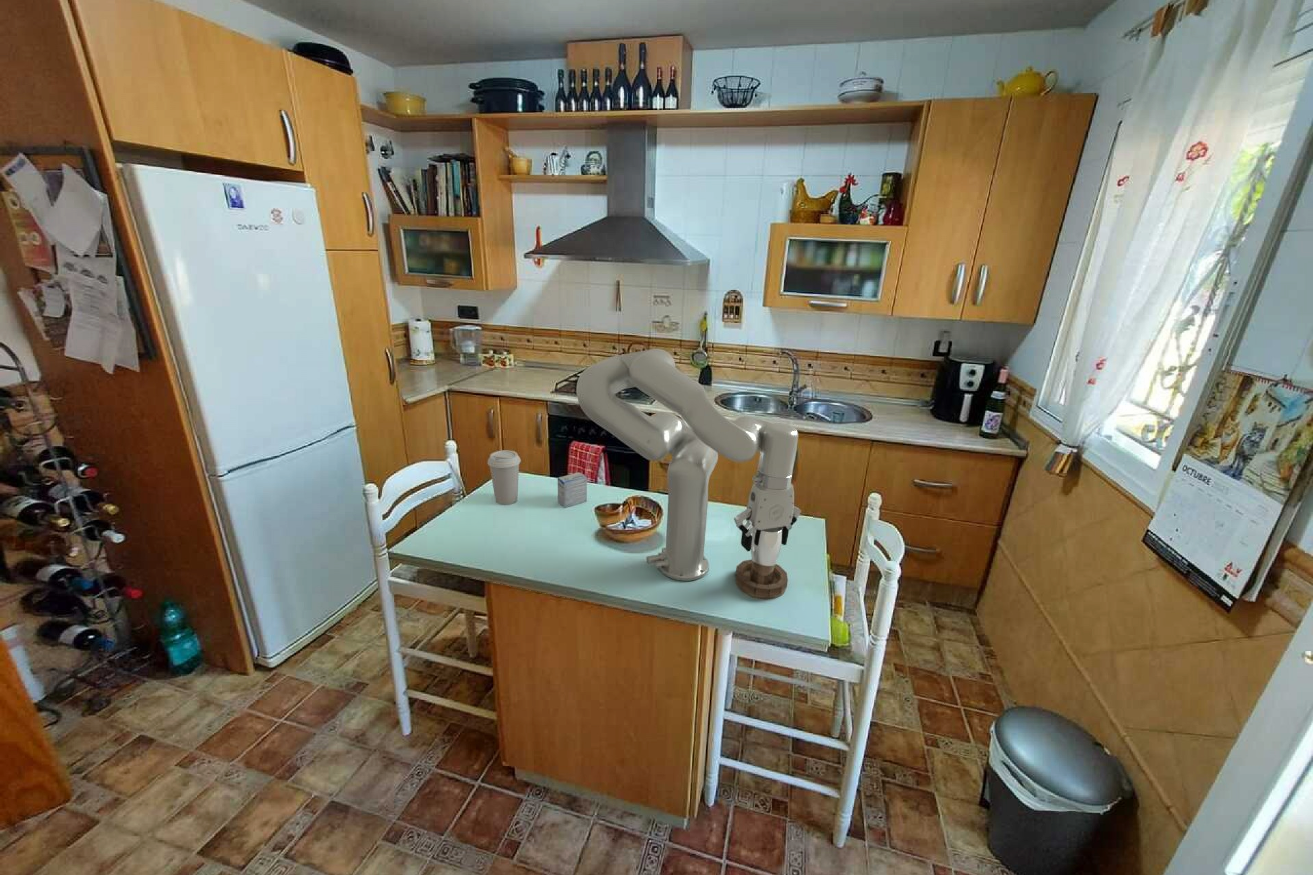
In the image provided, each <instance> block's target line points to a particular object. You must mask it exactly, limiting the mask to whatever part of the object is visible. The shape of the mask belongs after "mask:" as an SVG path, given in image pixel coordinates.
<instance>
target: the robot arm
mask: <svg viewBox="0 0 1313 875" xmlns="http://www.w3.org/2000/svg"><path fill="white" fill-rule="evenodd" d="M630 388H632V389H633V388H637V389H638V390H640V391H641V392H643V393H644V394H645V395H647V396H649V397H650V398H651V399H653V400H654V401H656V402H657V403H660V404H661V405H663V406H664V407H666V408H667V409H668V410H670V411H671V412H673V413H670V412H668V411H666V412H664V411H660V412H655V413H654V414H652V415H648V414H646V413H645V412H644V411H642V410H640V409H639V408H638V407H636V406H635V405H633V404H632V403H630V402H628V401H625V400H623V399H622V398H619V397H618V396H617V395H616V394H618V393H619V392H621V391H623V390H626V389H630ZM576 398H577V402H578V404H579V406H580V409H582V412H583V413H584V414H585V415H586V416H587V418H588V419H590V420H591V421H592V422H594V423H595V424H596V425H598V426H599V427H601V428H602V429H604V430H606V431H607V432H608V433H610V434H612V435H613V436H614V437H615V438H617V439H618V440H619V441H621V442H622V443H623V444H625V445H626V446H628V447H629V448H630V449H631V450H633V451H634V452H635V453H637V454H639V455H640V456H642V458H645V459H646V460H648V461H651V462H658V461H660V460H663V459H664V458H666V456H668V454H669V455H670V456H672V458H671V460H670V462H669V464H668V467H667V473H666V475H667V476H666V477H667V479H666V481H667V491H668V492H667V515H666V516H667V518H666V519H667V520H666V534H665V535H666V537H665V547H662V548H661V552H658V553H657V554H653V555H652V554H651V555H648V556H647V555H646V557H645V558H646V564H648V565H650V564H654V566H655V568H658V569H659V570H660V571H661V573H662V574H664V575H665V576H666V577H668V578H671V579H673V580H677V581H683V582H688V581H690V582H691V581H694V580H695V581H696V580H699V579H701V578H703V577H704V576H706V575H707V574H708V572H709V569H710V567H709V566H710V564H709V560H708V559H707V558H706V557H705V556H704V555H705V554H704V553H705V544H706V532H707V520H708V519H707V518H708V517H707V516H708V507H709V505H708V503H709V481H710V477H711V475H712V473H713V471H714V469H715V467H716V465H717V463H718V460H719V455H721V456H723V457H724V458H726V459H727V460H730V461H732V462H735V463H736V462H737V463H743V462H745V463H746V462H748V461H750V460H751V459H753V458H754V457H755V455H756V454H757V452H759V459H758V466H757V473H756V475H753V476H752V478H751V479H752V481H753V485H752V487H751V489H750V493H749V496H748V499H747V503H746V509H745V510H743V511H741V512H740V513H739V514H737V515H735V516H734V517H733V520H734V522H735V525H736V527H737V528H738V529H739V530H740V531H741V538H740V539H741V540H740V544H741V547H742V548H744V550H746V552H751V544H752V533H753V531H754V530H755V529H756V530H764V529H771V528H777V527H783V531H782V544H781V545H782V546H786V545H787V543H788V538H789V532H790V530H792V529H793V525H794V524H795V523H797V521H798V518H799V516H800V515H801V513H802V510H801V509H800V508H799V507H798V506H795V504H794V503H795V492H794V484H793V483H792V477H793V471H794V464H795V458H796V453H797V446H798V441H799V432H798V430H797V429H796V428H795V427H794V426H792V425H790V424H786V423H774V422H773V423H772V422H769V421H765V420H763V419H759V418H757V417H754V416H748V415H747V416H745V415H744V416H740V417H737V418H735V420H734V421H731V420H729V418H727V417H726V416H724V415H723V414H722V413H720V412H719V411H718V410H717V408H716V407H715V406H714V405H713V404H712V403H711V401H710V399H709V396H708V394H707V391H706V390H705V388H704V387H703V385H702V384H701V383H699V382H698V381H696V380H695V379H693V378H691V377H690V376H688V375H687V374H686V373H685V372H682V371H681V370H679V369H678V368H676V361H675V359H674V357H673V355H671V354H670V352H668V351H666V350H665V349H661V348H651V349H650V348H649V349H646V350H642V351H641V350H640V351H635V352H631V353H630V352H629V353H623V354H619V355H614V356H610V357H607V358H604V359H603V360H600V361H597V362H596V363H593V364H591V365H590V366H587V367H586V368H585V369H584V370H583V371H582V372H581V374H579V377H578V380H577V383H576ZM675 414H676V415H675ZM745 520H746V521H745ZM744 521H745V522H744ZM743 522H744V523H743Z"/></svg>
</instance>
